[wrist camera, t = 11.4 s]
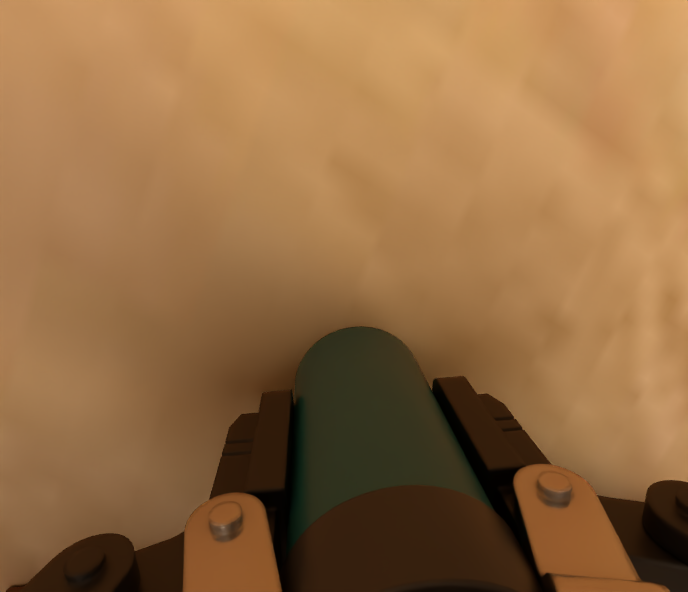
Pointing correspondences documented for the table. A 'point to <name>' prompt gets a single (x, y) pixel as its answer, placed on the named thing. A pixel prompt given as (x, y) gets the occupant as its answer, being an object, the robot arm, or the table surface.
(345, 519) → the glue stick
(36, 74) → the table surface
